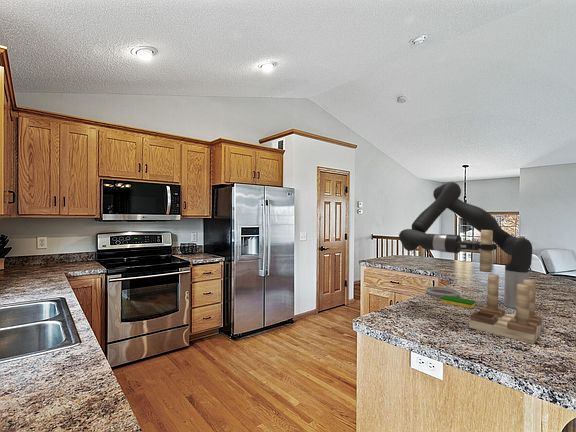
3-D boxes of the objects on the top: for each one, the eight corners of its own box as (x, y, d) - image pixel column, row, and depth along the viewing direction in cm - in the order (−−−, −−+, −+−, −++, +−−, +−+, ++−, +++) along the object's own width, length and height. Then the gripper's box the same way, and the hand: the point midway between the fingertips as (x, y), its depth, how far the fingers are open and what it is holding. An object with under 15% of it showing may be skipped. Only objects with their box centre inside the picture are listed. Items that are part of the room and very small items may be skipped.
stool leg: (482, 270, 125) (483, 229, 125) (492, 271, 122) (494, 230, 121) (477, 270, 123) (479, 229, 122) (488, 272, 120) (489, 230, 119)
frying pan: (464, 286, 184) (457, 295, 161) (464, 291, 184) (457, 301, 161) (432, 281, 193) (422, 289, 170) (432, 286, 193) (421, 295, 171)
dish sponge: (445, 299, 163) (445, 295, 163) (475, 305, 153) (475, 300, 153) (440, 302, 158) (440, 297, 157) (471, 309, 148) (471, 303, 148)
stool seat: (483, 316, 137) (485, 272, 136) (542, 329, 122) (544, 280, 122) (469, 327, 123) (470, 278, 122) (533, 343, 108) (535, 288, 108)
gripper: (440, 235, 127) (490, 238, 115) (453, 233, 137) (499, 236, 125) (440, 253, 128) (489, 259, 115) (452, 250, 137) (499, 255, 125)
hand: (494, 247), depth 120 cm, fingers closed on stool leg, 3 cm apart
